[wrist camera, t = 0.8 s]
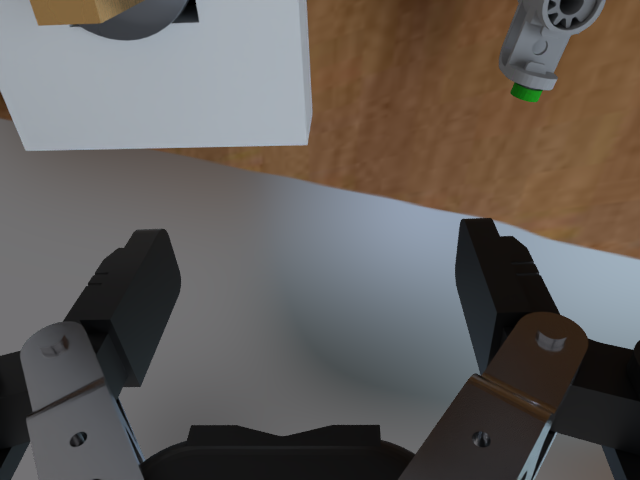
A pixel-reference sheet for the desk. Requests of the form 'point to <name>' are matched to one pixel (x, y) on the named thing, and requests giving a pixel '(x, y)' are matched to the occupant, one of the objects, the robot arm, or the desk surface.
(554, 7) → the mechanical component
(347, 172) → the desk surface
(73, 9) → the end cap
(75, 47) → the housing
